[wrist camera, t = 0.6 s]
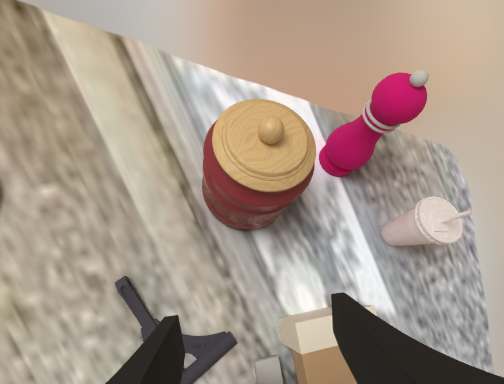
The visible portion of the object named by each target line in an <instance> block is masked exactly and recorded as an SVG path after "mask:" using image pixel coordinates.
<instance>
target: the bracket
mask: <svg viewBox="0 0 504 384" xmlns="http://www.w3.org/2000/svg"><path fill="white" fill-rule="evenodd" d="M115 285H116V288H117V290H118V292H119V293H120V295H121V296H122V297H123V299H124V300H125V302H126V303H127V305H128V306H129V308H130V309H131V311H132V312H133V314H134V315H135V317H136V318H137V320H138V321H139V323H140V325H141V326H142V328H141V332H142V337H143V342H144V341H145V340H146V339H147V338H148V336H149V335H150V334H151V333H152V332H153V330H154V329H155V328H156V327H157V325H158V324H159V323H160V322H159V321H158V320H157V319H153V318H152V317H151V315H150V314H149V312H148V310H147V309H146V307H145V305H144V304H143V302H142V300H141V299H140V297H139V296H138V294H137V292H136V291H135V289H134V287H133V286H132V284H131V282H130V281H129V279H128V278H127V277H126V276H124V277H123V278H121V279H120V280H118V281H117V282H115ZM182 338H183V343H184V349H185V353H190V354H192V355H193V356H195V357H196V358H197V360H196V361H195V362H193V363H192V364H191V365H190V366H189V367H187V368H186V369H184V368H183V373H182V379H181V383H180V384H192V383H193V382H194V381H195V380H196V379H197V378H199V377H200V376H201V375H202V374H203V373H204V372H205V371H206V370H207V369H209V368H210V367H211V366H212V365H213V364H214V363H215V362H216V361H217V360H219V359H220V358H221V357H222V356H223V355H224V354H225V353H226V352H227V351H229V350H230V349H231V348H232V347H233V346H234V345H235V344H236V343H237V342H236V341H235V339H234V338H233V336H232V335H231V333H230V332H228V333H227V334H226V333H225V332H221V333H217V334H213V335H208V336H189V335H183V334H182Z"/></svg>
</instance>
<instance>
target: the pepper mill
mask: <svg viewBox="0 0 504 384" xmlns="http://www.w3.org/2000/svg"><path fill="white" fill-rule="evenodd" d="M428 77H429V75H428V73H427V72H426V71H425V70H417V71H415V72H413V73H412V75H411V74H408V73H395V74H392V75H389V76H387V77H386V78H385V79H383V80H382V81H381V82H380V83H379V84H378V85H377V86H376V87H375V89H374V91H373V94H372V98H371V99H370V100H369V101H368V103H367V104H366V105H365V106H364V107H363V110H362V115H361V116H360V117H359V118H358V119H356V120H354V121H352V122H350V123H347V124H345V125H342V126H340V127H339V128H337V129H336V130H334V131H333V132H332V133H331V134H330V136H329V137H328V139H327V142H326V145H325V146H324V147H323V149H322V150H321V152H320V154H319V160H320V164H321V166H322V168H323V169H324V170H325V171H326V172H328V173H329V174H331V175H333V176H337V177H342V176H345V175H347V174H349V173H350V172H351V171H352V170H354V169H358V168H360V167H362V166H363V165H364V164H365V163H366V162H367V161H368V160H369V159H370V157H371V156H372V154H373V151H374V148H375V144H376V142H377V141H378V139H379V138H380V137H381V136H382V135H383V134H385V133H390V132H392V131H394V130H395V129H396V128H397V127H398V126H399V125H400V124H403V123H407V122H409V121H411V120H413V119H414V118H415V117H417V116H418V114H419V113H420V112H421V111H422V110H423V108H424V106H425V104H426V101H427V91H426V88H425V86H424V84H426V82H427V81H428Z"/></svg>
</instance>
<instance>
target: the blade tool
mask: <svg viewBox="0 0 504 384" xmlns="http://www.w3.org/2000/svg"><path fill="white" fill-rule="evenodd" d="M254 367H255V373H256V380H257V384H283V379H282V373H281V367H280V362H279V356H278V355H272V356H268V357H264V358H260V359H256V360H254Z"/></svg>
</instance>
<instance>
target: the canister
mask: <svg viewBox="0 0 504 384" xmlns="http://www.w3.org/2000/svg"><path fill="white" fill-rule="evenodd" d="M203 153H204V158H203V173H204V175H203V180H202V190H203V196H204V199H205V202H206V204H207V206H208V208H209V209H210V211H211V212H212V213H213V215H214V216H215V217H216V218H217V219H218V220H220V221H221V222H223V223H224V224H226V225H228V226H230V227H233V228H236V229H243V230H250V229H257V228H261V227H263V226H266V225H268V224H270V223H271V222H273V221H274V220H275V219H276V218H277V217H278V216H279V215H280V214H281V213H282V212H283V210H284V209H285V208H286V207H288V206H289V205H290V204H291V203H292V202H293V201H294V200H295V199H296V198H297V197H298V196H299V195H300V194H301V193H302V192H303V191H304V190H305V189H306V188H307V186H308V185H309V183H310V181H311V178H312V175H313V172H314V162H315V157H316V146H315V141H314V137H313V135H312V132H311V130H310V129H309V127H308V125H307V124H306V123H305V121H304V120H303V119H302V118H301V117H300V116H299V115H298V114H297V113H295V112H294V111H293V110H291V109H290V108H288V107H286V106H284V105H282V104H280V103H277V102H274V101H270V100H264V99H250V100H245V101H241V102H238V103H236V104H234V105H232V106H230V107H229V108H228V109H226V110H225V111H224V112H223V113H222V114H221V115H220V117H219V118H218V120H217V121H215V123H214V124H213V125H212V126H211V128H210V129H209V131H208V133H207V135H206V138H205V142H204V149H203Z"/></svg>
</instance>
